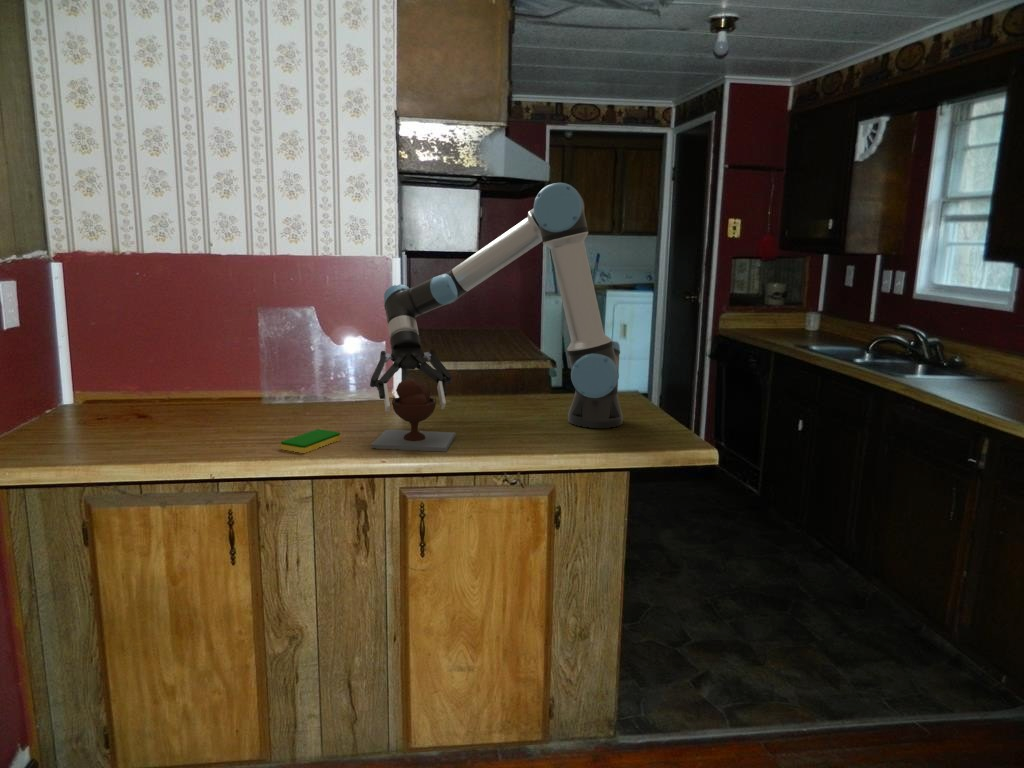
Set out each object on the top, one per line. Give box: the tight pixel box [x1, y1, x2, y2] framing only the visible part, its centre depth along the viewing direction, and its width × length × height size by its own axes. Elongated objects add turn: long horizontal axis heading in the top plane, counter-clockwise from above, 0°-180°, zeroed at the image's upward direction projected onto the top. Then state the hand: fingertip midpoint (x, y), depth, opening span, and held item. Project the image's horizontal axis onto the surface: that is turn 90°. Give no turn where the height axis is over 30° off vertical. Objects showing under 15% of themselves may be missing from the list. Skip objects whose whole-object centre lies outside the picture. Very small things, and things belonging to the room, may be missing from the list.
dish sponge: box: [280, 428, 341, 454], centre depth 180 cm, size 7×14×2 cm, turn 156°
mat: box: [370, 429, 456, 453], centre depth 184 cm, size 18×14×1 cm
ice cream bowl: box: [391, 378, 437, 441], centre depth 182 cm, size 11×11×15 cm
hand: (416, 407), depth 180 cm, fingers open, 13 cm apart
